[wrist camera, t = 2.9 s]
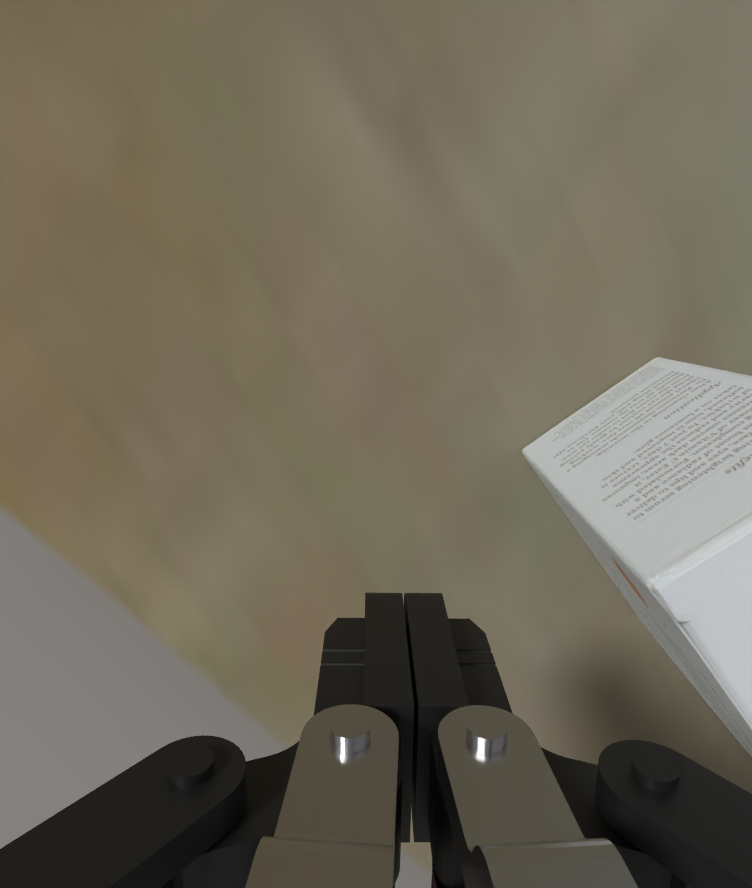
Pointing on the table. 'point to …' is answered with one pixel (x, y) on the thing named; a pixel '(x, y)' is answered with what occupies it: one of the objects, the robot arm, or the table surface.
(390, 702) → the robot arm
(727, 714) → the small box
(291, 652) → the table surface
